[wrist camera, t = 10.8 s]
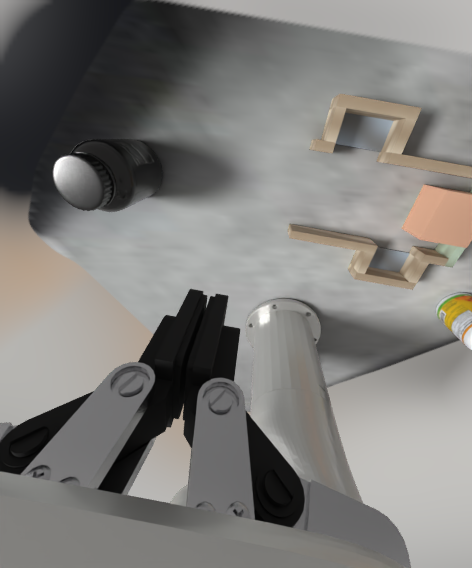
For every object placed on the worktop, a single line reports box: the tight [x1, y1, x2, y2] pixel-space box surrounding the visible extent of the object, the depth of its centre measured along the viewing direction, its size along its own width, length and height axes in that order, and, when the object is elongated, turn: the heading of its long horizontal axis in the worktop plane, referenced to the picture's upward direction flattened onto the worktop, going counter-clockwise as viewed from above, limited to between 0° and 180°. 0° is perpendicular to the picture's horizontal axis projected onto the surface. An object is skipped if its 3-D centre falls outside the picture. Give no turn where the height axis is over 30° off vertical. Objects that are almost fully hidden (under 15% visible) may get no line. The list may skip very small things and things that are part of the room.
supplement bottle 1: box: [52, 139, 162, 212], centre depth 27 cm, size 7×7×12 cm
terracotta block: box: [402, 185, 472, 248], centre depth 29 cm, size 6×6×4 cm
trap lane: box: [288, 94, 472, 290], centre depth 30 cm, size 19×21×3 cm
